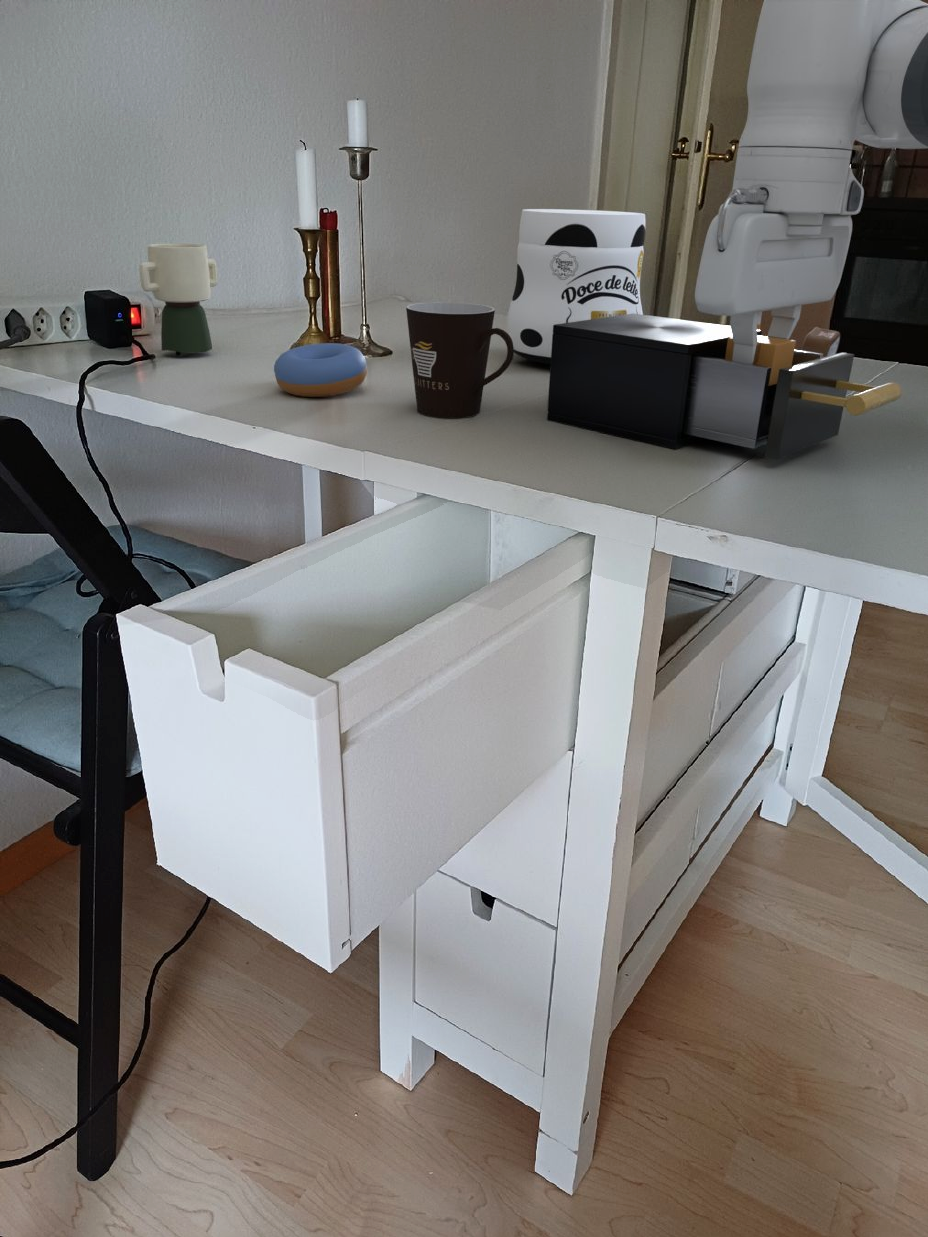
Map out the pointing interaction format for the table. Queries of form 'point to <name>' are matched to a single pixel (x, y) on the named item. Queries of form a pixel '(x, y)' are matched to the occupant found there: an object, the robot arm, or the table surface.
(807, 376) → the drawer with wooden handle
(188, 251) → the character mug
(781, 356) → the tan block
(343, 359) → the doughnut
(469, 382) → the coffee mug
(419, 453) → the table surface
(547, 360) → the milk container
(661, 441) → the black drawer box
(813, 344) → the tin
